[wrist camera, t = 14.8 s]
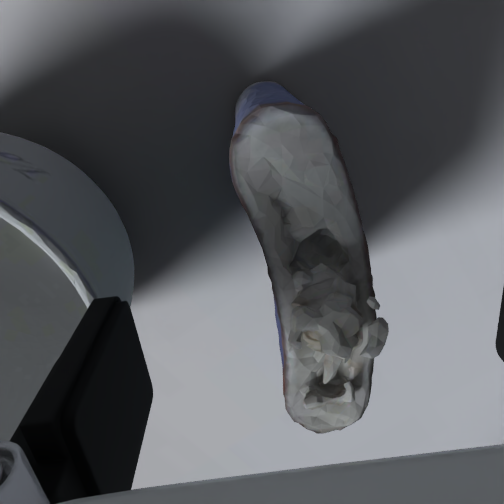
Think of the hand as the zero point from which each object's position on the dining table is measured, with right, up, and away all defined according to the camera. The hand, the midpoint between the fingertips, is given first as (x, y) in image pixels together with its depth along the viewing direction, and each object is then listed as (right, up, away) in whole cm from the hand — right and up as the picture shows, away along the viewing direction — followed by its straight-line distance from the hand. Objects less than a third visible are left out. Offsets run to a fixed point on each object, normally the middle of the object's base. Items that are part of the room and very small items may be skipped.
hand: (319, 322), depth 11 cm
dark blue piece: (0, +4, +8) cm, 9 cm away
